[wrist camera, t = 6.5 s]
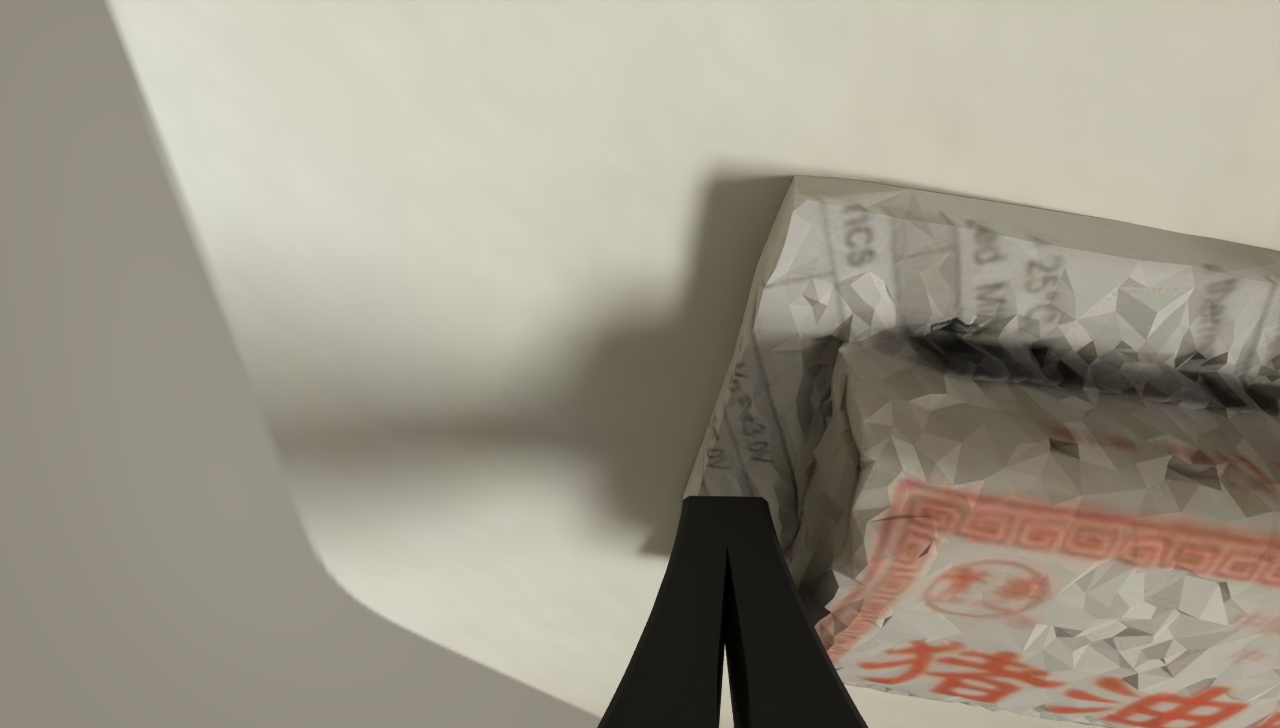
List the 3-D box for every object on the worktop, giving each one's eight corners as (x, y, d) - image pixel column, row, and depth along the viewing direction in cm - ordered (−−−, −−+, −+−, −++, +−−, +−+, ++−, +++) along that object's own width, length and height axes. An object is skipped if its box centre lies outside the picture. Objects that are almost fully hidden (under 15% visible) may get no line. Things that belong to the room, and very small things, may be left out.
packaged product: (2438, 602, 7) (1544, 880, 14) (1847, 340, 11) (1360, 650, 17) (821, 323, 7) (654, 748, 13) (778, 145, 11) (665, 540, 17)
